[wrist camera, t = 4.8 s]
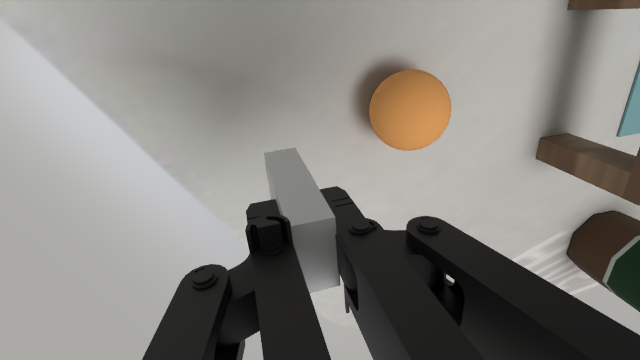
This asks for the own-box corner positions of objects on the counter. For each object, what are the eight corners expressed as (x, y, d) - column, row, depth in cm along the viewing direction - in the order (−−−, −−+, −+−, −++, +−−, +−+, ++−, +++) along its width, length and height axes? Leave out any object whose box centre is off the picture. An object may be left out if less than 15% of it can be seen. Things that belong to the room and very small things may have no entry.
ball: (357, 69, 25) (388, 82, 20) (427, 60, 26) (473, 70, 21) (359, 141, 27) (388, 168, 22) (423, 131, 28) (464, 154, 23)
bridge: (535, 158, 32) (639, 205, 24) (573, -20, 26) (731, -37, 18) (563, 153, 33) (673, 197, 25) (606, -23, 26) (774, -41, 18)
